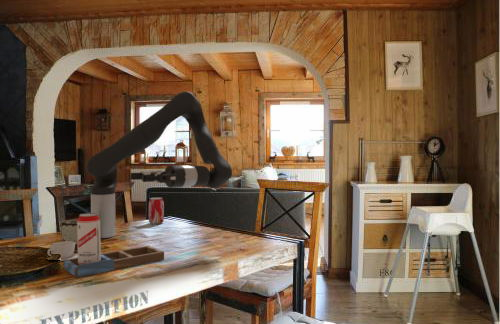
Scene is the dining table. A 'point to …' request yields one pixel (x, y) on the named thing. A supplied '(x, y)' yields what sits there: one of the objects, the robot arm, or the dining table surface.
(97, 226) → the beer can
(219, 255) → the dining table surface
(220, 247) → the dining table surface
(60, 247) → the teacup
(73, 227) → the food container
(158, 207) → the soda can
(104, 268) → the slotted rack
